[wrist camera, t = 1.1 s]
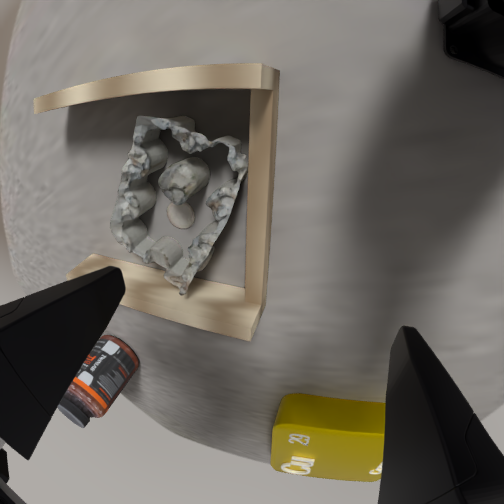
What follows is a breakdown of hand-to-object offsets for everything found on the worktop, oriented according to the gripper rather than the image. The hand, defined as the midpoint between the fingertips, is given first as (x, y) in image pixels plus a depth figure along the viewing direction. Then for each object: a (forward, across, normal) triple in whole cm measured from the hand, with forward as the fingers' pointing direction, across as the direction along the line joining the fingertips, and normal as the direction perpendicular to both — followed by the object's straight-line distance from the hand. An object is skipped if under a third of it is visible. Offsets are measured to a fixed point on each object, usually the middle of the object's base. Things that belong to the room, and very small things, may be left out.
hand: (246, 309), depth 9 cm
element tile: (+12, -8, +27) cm, 31 cm away
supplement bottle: (+11, +19, +22) cm, 31 cm away
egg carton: (+12, +8, +1) cm, 14 cm away
